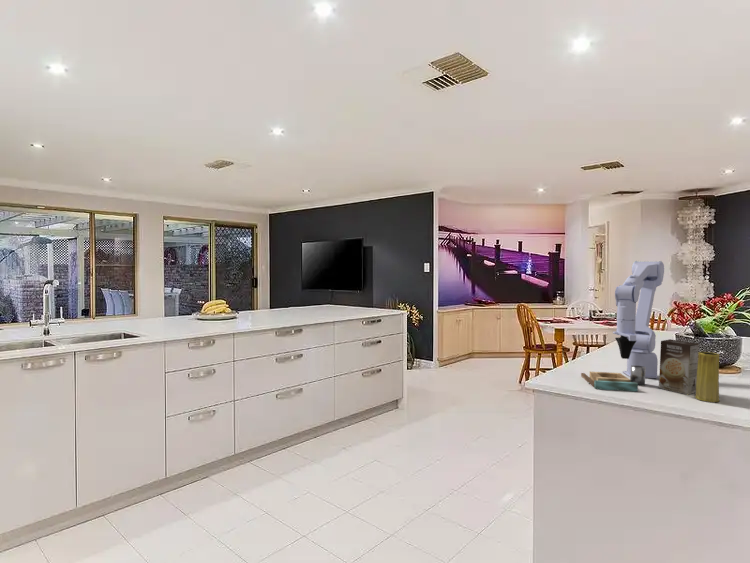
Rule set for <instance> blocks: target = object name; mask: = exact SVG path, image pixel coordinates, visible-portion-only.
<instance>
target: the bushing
mask: <svg viewBox="0 0 750 563" xmlns="http://www.w3.org/2000/svg"><path fill="white" fill-rule="evenodd" d="M645 372H646V367H644V366H639V365H631V376H629V377H630V378H629V379H630V382H635V383H638V387H640V386H645V385H646V378H645Z"/></svg>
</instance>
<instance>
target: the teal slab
mask: <svg viewBox="0 0 750 563" xmlns="http://www.w3.org/2000/svg"><path fill="white" fill-rule="evenodd" d="M580 374H581V378H583V379H584V380H585V381H586V382H587V383H588V382H589V383H590V384H591V385H590V386H591V387H592V388H593V389H595V390H610V391H624V392H638V390H639V385H638V383H635V382H617V381H598V380H594V381H593V380H592V379H591V378H589V377H590V376H588V374H586V373H584V372H581V373H580ZM589 383H588V384H589Z"/></svg>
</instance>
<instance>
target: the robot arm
mask: <svg viewBox="0 0 750 563" xmlns="http://www.w3.org/2000/svg"><path fill="white" fill-rule="evenodd" d="M631 265H632V266H631V274H630V275H628V277H626V279H625V280H624V282H623V283H622V284H620V285H618V286H616V287H615V292H614V298H615V305H616V307H617V309H616V310H617V311H616V330H615V331H614V330H613V331H612V334H614V335H616V336H619V337H615V341H616V343H617V345H618V350H619V354H620V358H621V359H622V360H623V359H624V360H625V359H626V370H622V373H624V374H625V375H627V377H628V376H629V377H630V376H631V365H639V366H644V367H646V372H645V379H646V378H648V379H659V377H658V364H659V361H658V355H657V354H656V353H655V352H653V351H655V348H656V333H655V331H654V330H653V329H652V328H651V327H649V326H650V321H651V315H652V310H653V306H654V299H655V293H656V291H657V287H660V286H661V285H662V284H663V281H664V277H665V276H664V274H665V264H664V262H663V261H662V260H660V261H657V260H655V261H654V260H653V261H648V260H647V261H646V260H645V261H641V260H640V261H639V260H638V261H637V260H635V261H634V262H633V263H632V264H631ZM637 302H638V303H637Z"/></svg>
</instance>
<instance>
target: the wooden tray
mask: <svg viewBox="0 0 750 563" xmlns="http://www.w3.org/2000/svg"><path fill="white" fill-rule="evenodd" d="M588 377H589V378H591V379H592V380H593V381H594V380H598V381H617V382H630V378H629V377H628V376H626V375H624V374H622V373H620V372H607V371H606V372H605V371H589V376H588Z"/></svg>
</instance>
